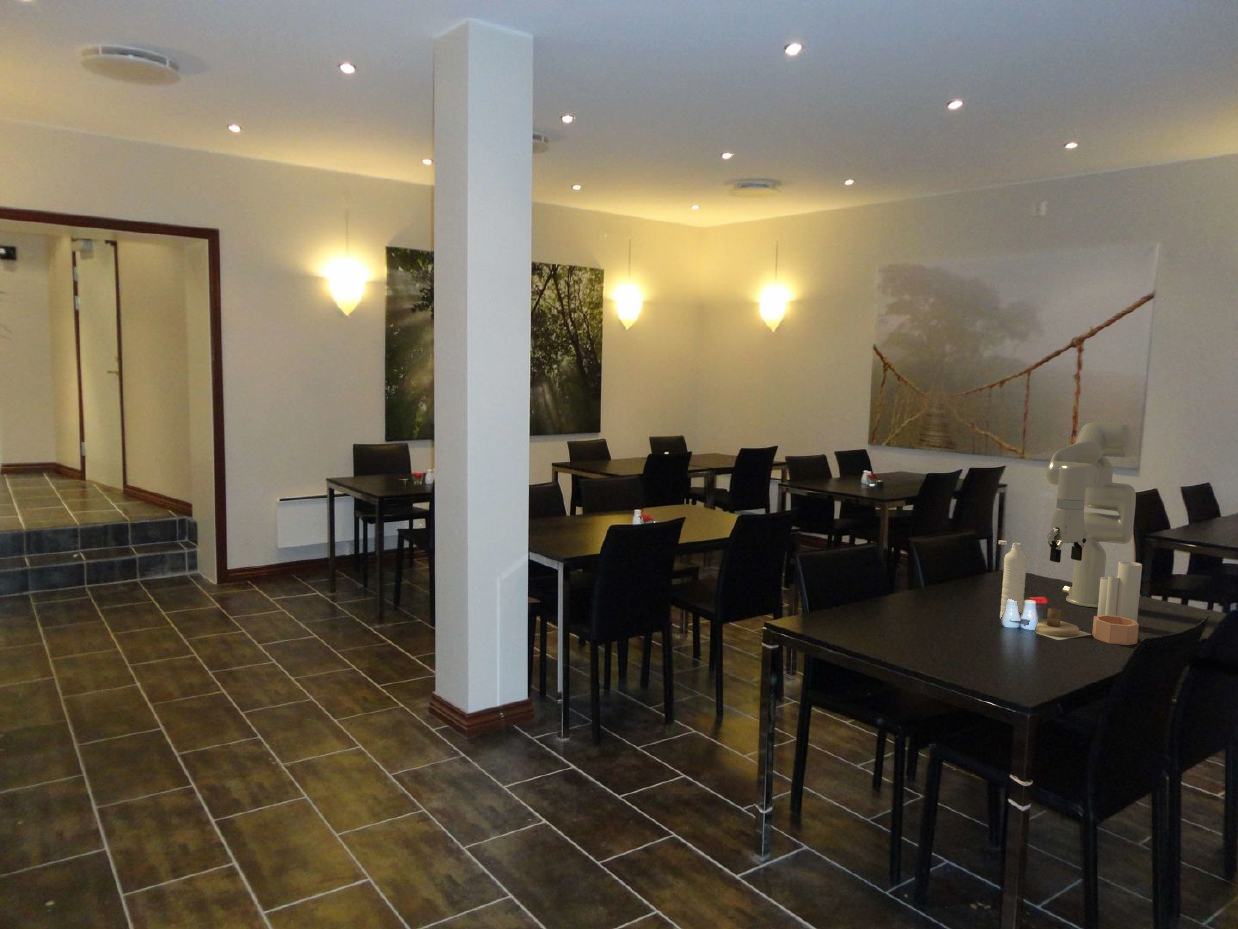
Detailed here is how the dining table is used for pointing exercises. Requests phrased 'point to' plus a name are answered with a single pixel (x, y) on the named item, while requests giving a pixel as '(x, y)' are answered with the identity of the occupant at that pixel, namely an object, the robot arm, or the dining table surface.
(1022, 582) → the water bottle
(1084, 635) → the mat
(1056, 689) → the dining table surface
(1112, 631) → the bowl
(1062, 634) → the lid
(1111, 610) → the candle
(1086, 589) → the robot arm
